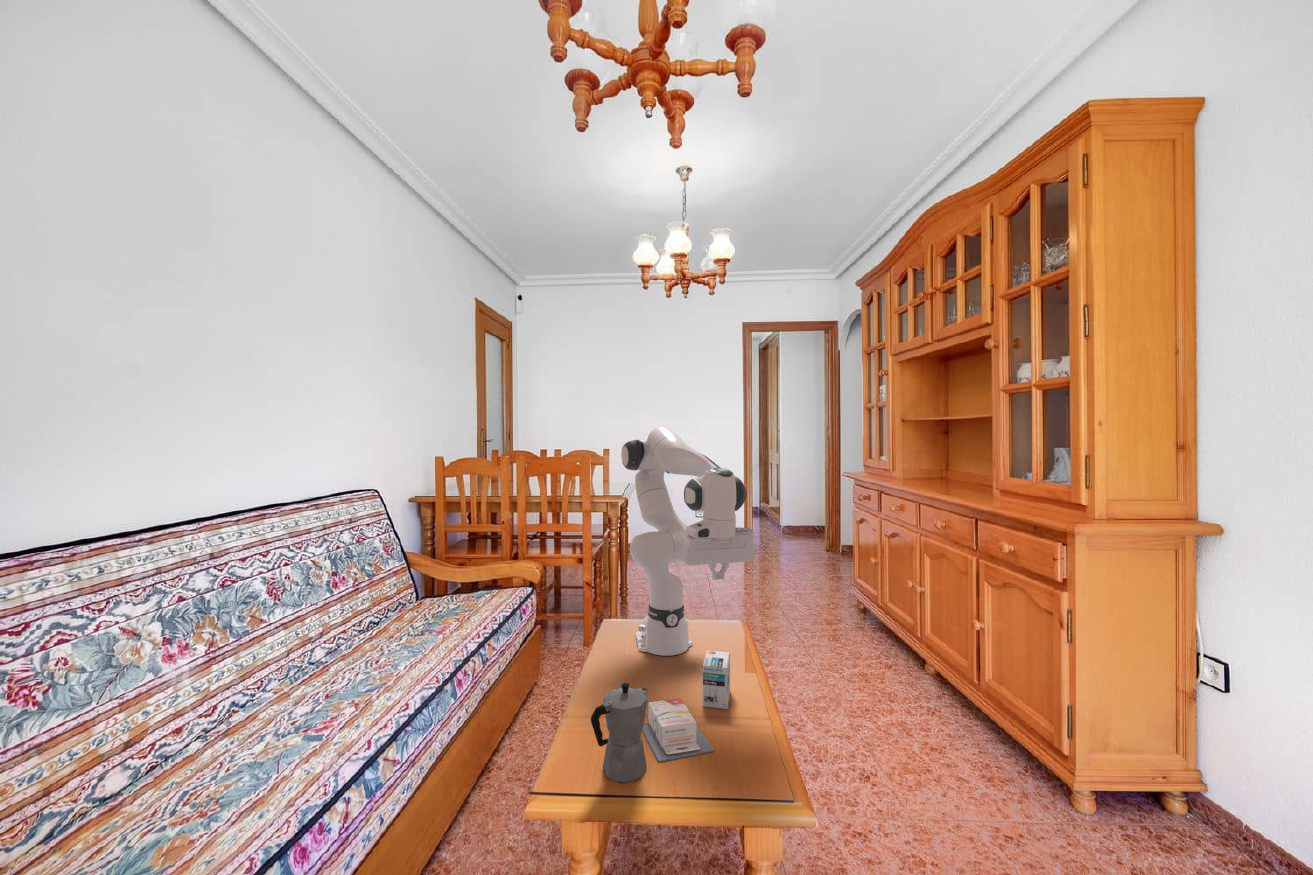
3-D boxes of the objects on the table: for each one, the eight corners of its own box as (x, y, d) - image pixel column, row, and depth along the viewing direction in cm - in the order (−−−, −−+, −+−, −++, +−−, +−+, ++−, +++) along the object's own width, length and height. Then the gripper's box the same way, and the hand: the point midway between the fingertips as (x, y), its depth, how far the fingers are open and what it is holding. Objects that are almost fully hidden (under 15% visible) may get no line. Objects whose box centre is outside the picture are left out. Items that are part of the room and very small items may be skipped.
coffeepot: (633, 746, 116) (633, 666, 117) (662, 765, 110) (663, 681, 110) (577, 777, 106) (577, 689, 106) (605, 800, 99) (606, 706, 99)
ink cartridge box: (680, 696, 129) (702, 728, 114) (680, 716, 128) (702, 750, 114) (647, 701, 126) (666, 734, 112) (647, 721, 126) (665, 757, 112)
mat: (640, 727, 124) (640, 725, 124) (690, 718, 128) (690, 717, 128) (658, 762, 111) (658, 760, 111) (713, 751, 115) (713, 749, 115)
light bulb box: (727, 710, 133) (728, 668, 133) (701, 707, 134) (702, 665, 134) (730, 690, 143) (730, 651, 143) (706, 687, 144) (706, 649, 144)
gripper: (748, 524, 146) (747, 573, 146) (680, 527, 140) (679, 578, 140) (759, 528, 140) (758, 579, 140) (688, 532, 134) (687, 585, 134)
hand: (718, 579), depth 140 cm, fingers closed
